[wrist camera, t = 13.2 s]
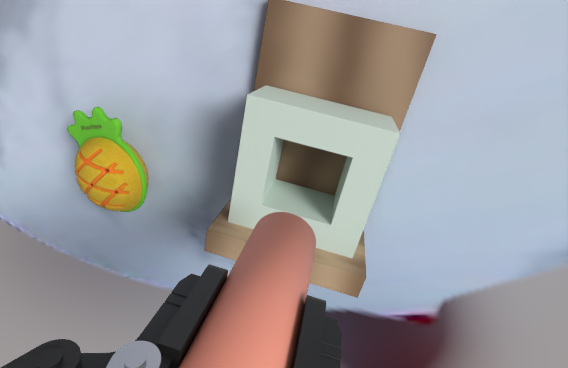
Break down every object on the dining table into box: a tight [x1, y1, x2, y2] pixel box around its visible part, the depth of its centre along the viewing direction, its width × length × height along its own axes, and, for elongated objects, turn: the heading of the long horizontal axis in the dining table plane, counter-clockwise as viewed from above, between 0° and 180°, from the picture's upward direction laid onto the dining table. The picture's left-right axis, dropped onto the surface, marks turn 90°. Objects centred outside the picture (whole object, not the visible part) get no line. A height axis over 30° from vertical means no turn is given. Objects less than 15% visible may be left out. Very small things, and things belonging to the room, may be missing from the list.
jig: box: [204, 0, 436, 298], centre depth 23 cm, size 12×18×8 cm, turn 167°
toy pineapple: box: [68, 107, 148, 212], centre depth 29 cm, size 7×10×5 cm
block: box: [228, 85, 400, 258], centre depth 24 cm, size 10×10×5 cm
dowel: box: [178, 212, 316, 368], centre depth 10 cm, size 3×3×12 cm
